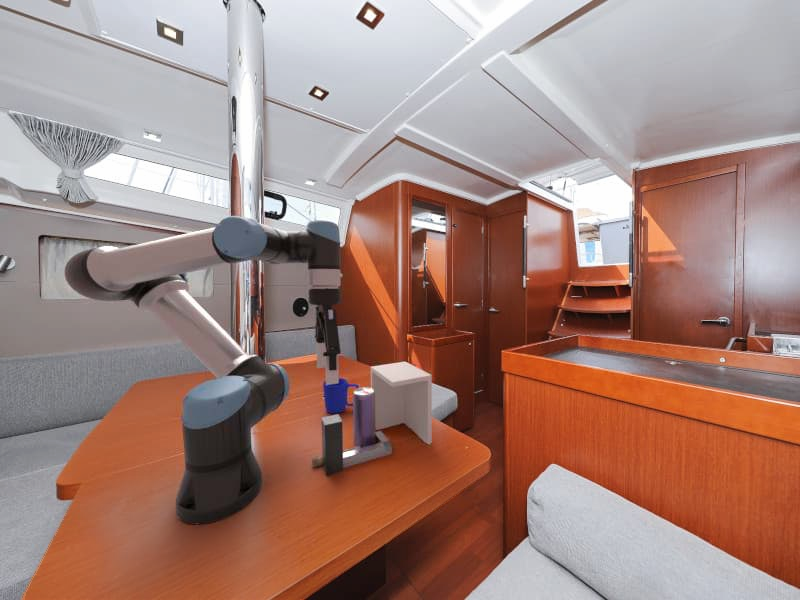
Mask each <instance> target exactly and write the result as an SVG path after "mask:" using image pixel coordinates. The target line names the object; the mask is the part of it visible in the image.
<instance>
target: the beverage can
mask: <svg viewBox="0 0 800 600" xmlns="http://www.w3.org/2000/svg"><path fill="white" fill-rule="evenodd" d="M352 403H353V406H352V420H353V421H352V423H353V426H352V429H353V446H354V447H358V446H360V447H361V448H363V447H367V446H370V445H374V444H376V443H375V442H376V432H377V430H376V429H375V393H374V389H372V388H371V387H367V386H366V387H365V386H363V387H358V389H356V388H355V389H354V390H353V395H352Z"/></svg>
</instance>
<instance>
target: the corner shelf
mask: <svg viewBox="0 0 800 600" xmlns="http://www.w3.org/2000/svg"><path fill="white" fill-rule="evenodd" d="M432 380H433V377H432V374H431V373H428V372H426V371H425V370H423V369H421V368H418V366H416V365H415V366H414V365H413V364H411V363H409V362H407V361H400V362H394V363H387V364H380V365H379V364H378V365H373V366H370V388H372V389H374V393H375V429H376V431H380V430H383V429H387V428H391V427H394V426H399V425H402V424H404V425H405V426H407V428H409V429H410V428H411V429H412V430H413V431H414V432H415V433H416V434H417V435H418V436H417V435H416V434H415V433H414V432H413V431H412V430H411V429H410V430H411V431H412V432H413V433H414V434H415V435H416V436H417V437H419V438H420V439H421V441H423V442H424V443H425V444H426V443H427V444H428V445H427V444H426V445H427V446H430V445H432V444H431V443H433V442H432V441H433V439H432V434H433V432H432V430H433V428H432V425H433V424H432V420H433V418H432V417H433V413H432V411H433V410H432V409H433V408H432V405H433V404H432V403H433V400H432V399H433V398H432V397H433V395H432V393H433V391H432V388H433V387H432V385H433V384H432ZM401 423H402V424H401ZM429 444H430V445H429Z"/></svg>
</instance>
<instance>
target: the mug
mask: <svg viewBox="0 0 800 600" xmlns="http://www.w3.org/2000/svg"><path fill="white" fill-rule="evenodd" d="M349 387H355V389H358V388H359V384H358V383H348V380H347V379H345V378H340V377H339V383H337V384H330V385H326V380H324V381H323V383H322V388H323V398H324V407H325V410H326V412H327V413H329V414H339V413H342V412H343V411H345V409H346V407H347V406H348V407H353V402H352V403H349V402H348V391H349Z"/></svg>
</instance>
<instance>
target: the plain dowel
mask: <svg viewBox="0 0 800 600" xmlns="http://www.w3.org/2000/svg"><path fill="white" fill-rule="evenodd" d="M359 448H361V447H360V446H358V447H355V446H354V447H351V448H347V449H343V453H344V452H348V451H352V450H356V449H359ZM311 463H312V464H311V465H312V468H316V467H320V466H323V455H320V456H316V457H312V458H311Z"/></svg>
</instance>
